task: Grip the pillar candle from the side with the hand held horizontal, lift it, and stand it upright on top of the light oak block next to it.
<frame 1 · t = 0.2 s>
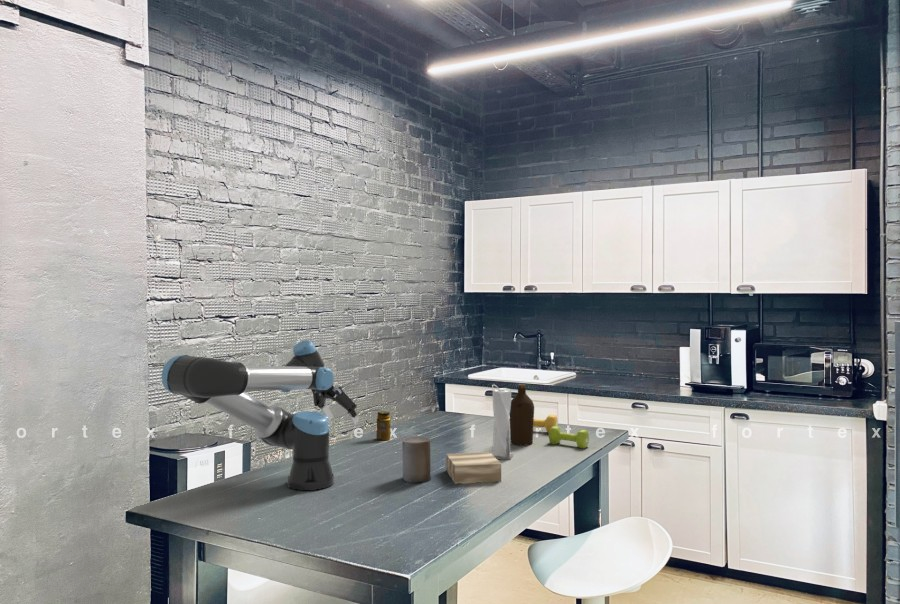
hand: (343, 420, 242), 15 cm above the table, tool tilted 35°, fingers open, 13 cm apart
olive oil: (521, 443, 270), on the table
dumbbell: (568, 446, 267), on the table
dumbbell 2: (536, 432, 293), on the table
pillar candle: (416, 479, 218), on the table
condiment: (382, 440, 275), on the table
oak block: (473, 475, 222), on the table
skyscraper: (501, 456, 248), on the table
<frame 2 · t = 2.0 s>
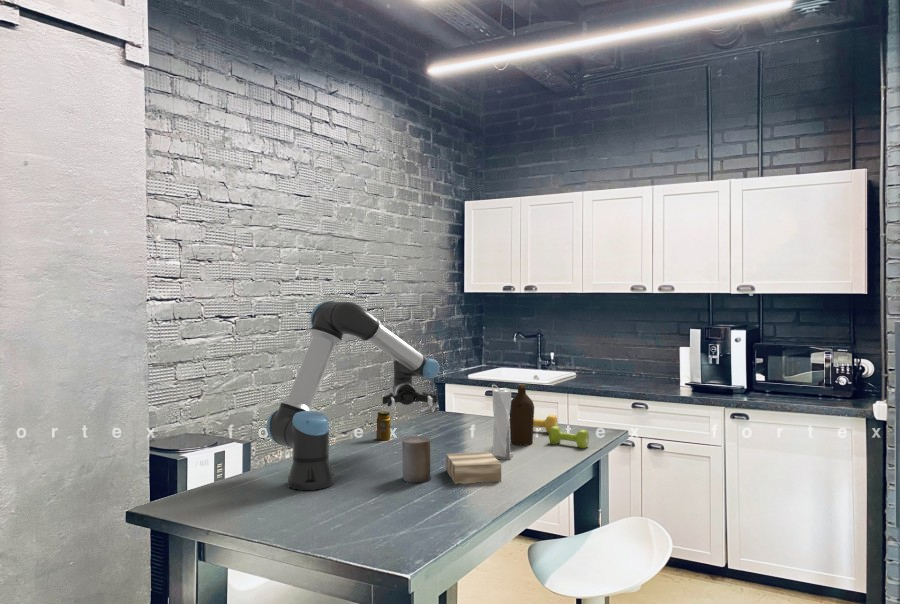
hand: (412, 403, 227), 24 cm above the table, tool horizontal, fingers open, 13 cm apart
nothing on the table moved.
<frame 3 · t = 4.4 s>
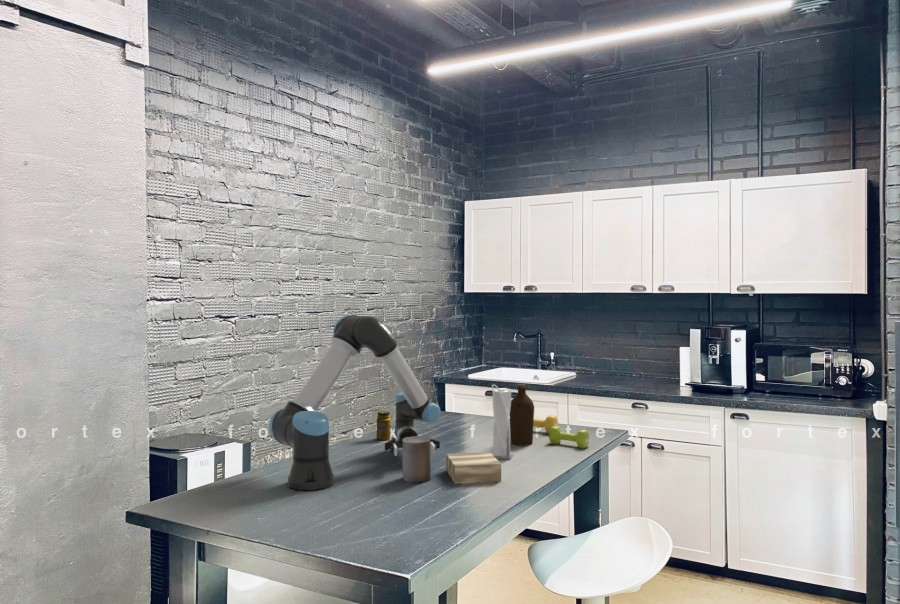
hand: (415, 451, 225), 8 cm above the table, tool horizontal, fingers open, 13 cm apart
nothing on the table moved.
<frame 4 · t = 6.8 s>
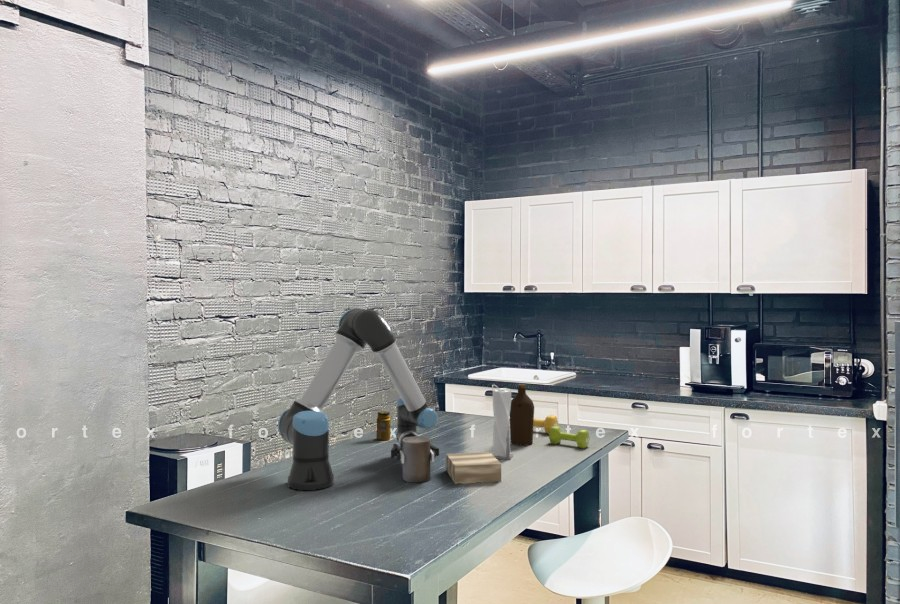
hand: (418, 458, 214), 8 cm above the table, tool horizontal, fingers closed on pillar candle, 9 cm apart
pillar candle: (416, 479, 218), on the table, touching gripper
everything else where it was.
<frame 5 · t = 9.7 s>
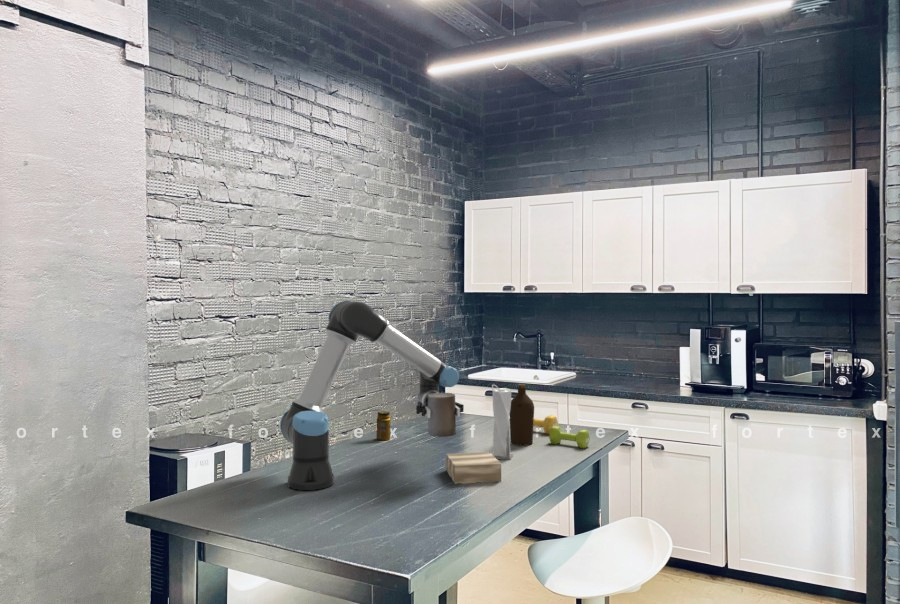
hand: (444, 413, 216), 23 cm above the table, tool horizontal, fingers closed on pillar candle, 9 cm apart
pillar candle: (441, 434, 220), point 15 cm above the table, touching gripper
when the fingers open (15 cm above the table, at t = 12.6 s): pillar candle drops 1 cm, resting on oak block.
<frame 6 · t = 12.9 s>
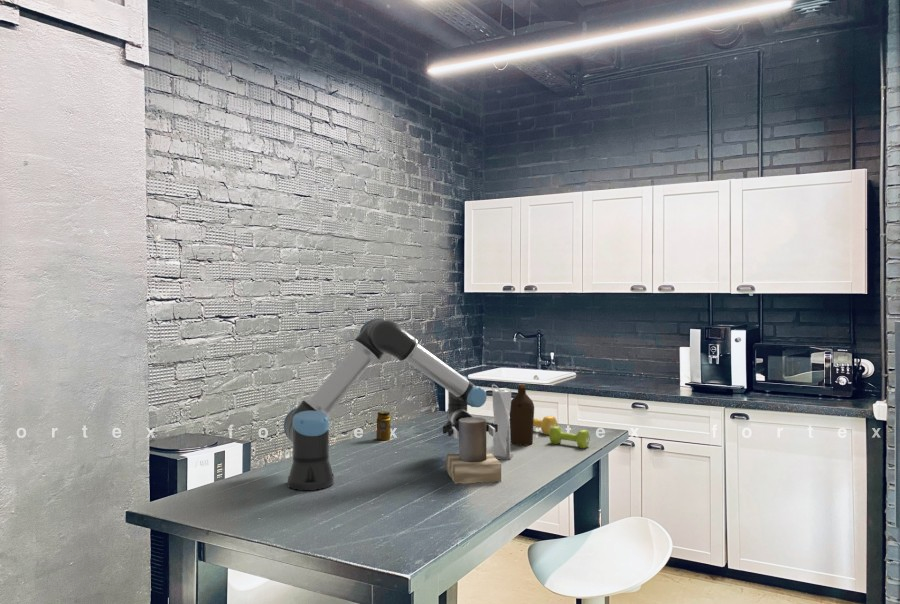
hand: (475, 433, 218), 15 cm above the table, tool horizontal, fingers open, 13 cm apart
pillar candle: (472, 459, 222), point 6 cm above the table, touching oak block
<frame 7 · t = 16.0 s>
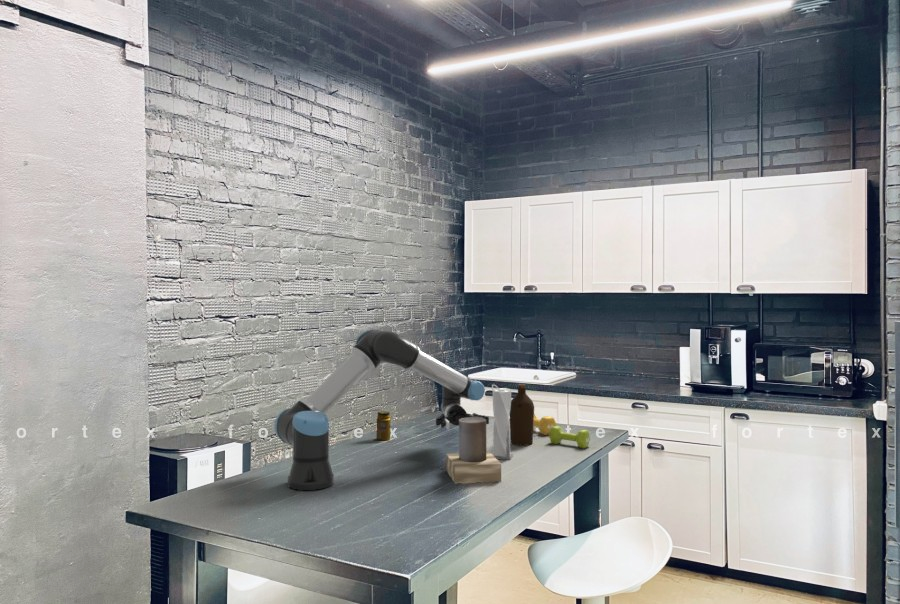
hand: (466, 425, 231), 16 cm above the table, tool horizontal, fingers open, 13 cm apart
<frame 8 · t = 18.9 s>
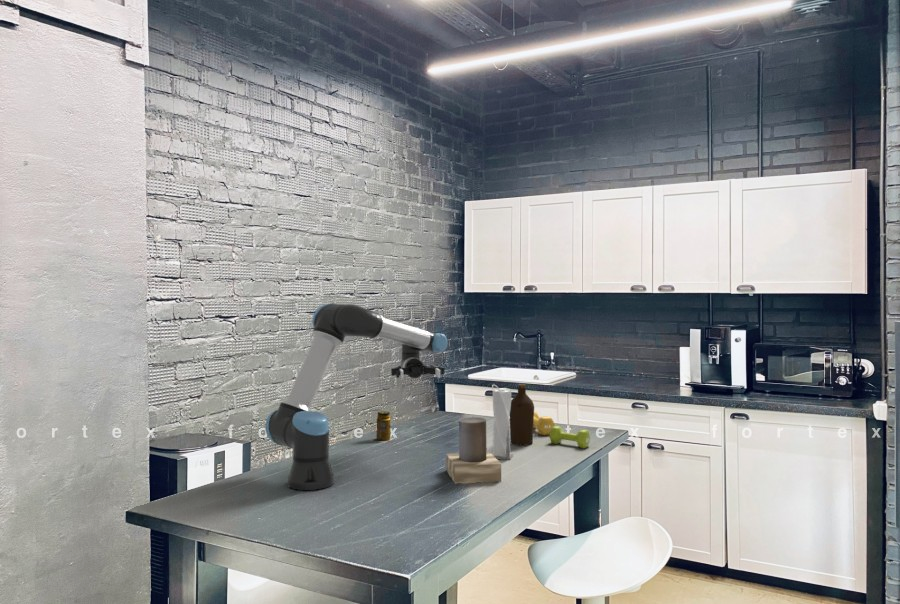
hand: (421, 374, 232), 34 cm above the table, tool horizontal, fingers open, 13 cm apart
at the end: pillar candle inside the target area on the oak block (0.2 cm from its centre), point 5.8 cm above the oak block's base; pillar candle tilted 0°; the gripper is holding nothing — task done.
